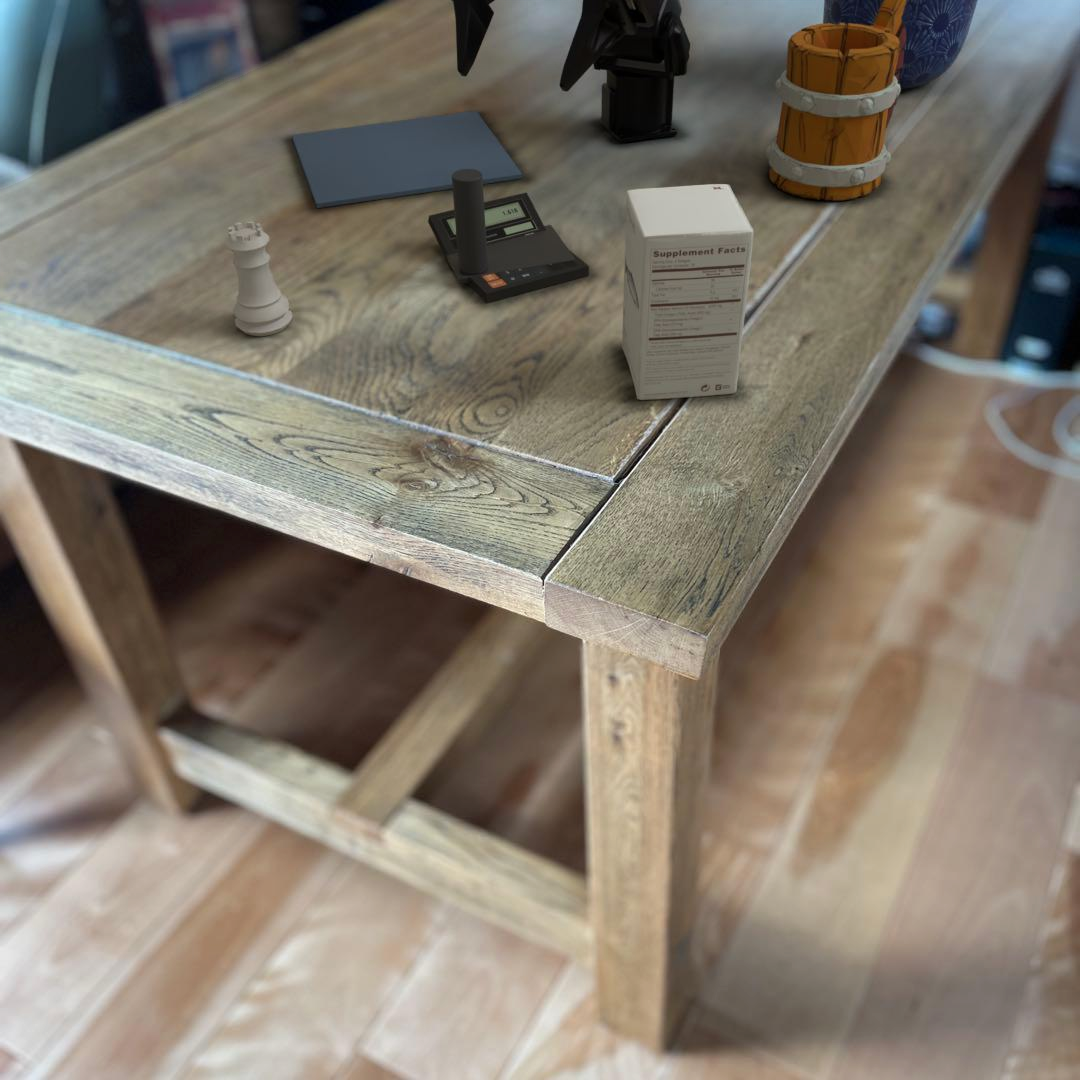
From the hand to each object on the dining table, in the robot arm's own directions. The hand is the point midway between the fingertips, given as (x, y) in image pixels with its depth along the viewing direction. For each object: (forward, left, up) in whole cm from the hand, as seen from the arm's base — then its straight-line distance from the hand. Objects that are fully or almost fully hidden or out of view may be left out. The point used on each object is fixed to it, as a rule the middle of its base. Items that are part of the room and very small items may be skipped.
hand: (511, 81), depth 89 cm
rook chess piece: (+23, +8, -14) cm, 28 cm away
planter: (-51, -25, -14) cm, 59 cm away
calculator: (+2, +4, -14) cm, 14 cm away
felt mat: (+6, -21, -13) cm, 26 cm away
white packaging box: (-5, +25, -14) cm, 29 cm away
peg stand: (+2, +4, -13) cm, 14 cm away
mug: (-33, -4, -14) cm, 36 cm away
